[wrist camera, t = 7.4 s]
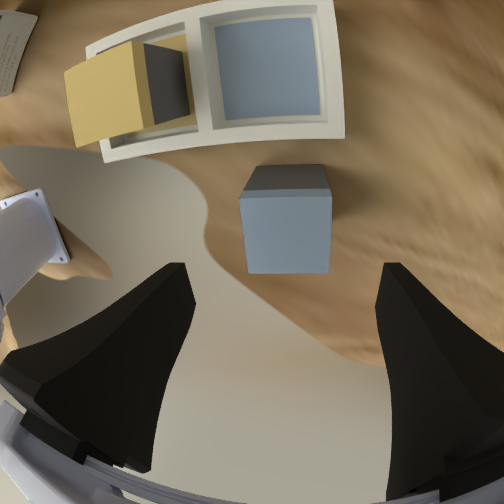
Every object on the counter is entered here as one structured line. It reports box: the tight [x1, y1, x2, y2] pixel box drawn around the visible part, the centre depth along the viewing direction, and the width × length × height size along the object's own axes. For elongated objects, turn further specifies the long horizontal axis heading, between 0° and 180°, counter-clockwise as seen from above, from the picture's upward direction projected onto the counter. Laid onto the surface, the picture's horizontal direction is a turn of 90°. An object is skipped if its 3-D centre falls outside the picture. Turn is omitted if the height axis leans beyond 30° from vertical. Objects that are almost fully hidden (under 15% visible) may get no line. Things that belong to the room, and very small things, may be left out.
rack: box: [85, 0, 345, 163], centre depth 13 cm, size 14×8×2 cm, turn 96°
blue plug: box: [239, 164, 332, 274], centre depth 15 cm, size 4×4×6 cm
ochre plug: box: [64, 41, 191, 148], centre depth 12 cm, size 4×4×6 cm
